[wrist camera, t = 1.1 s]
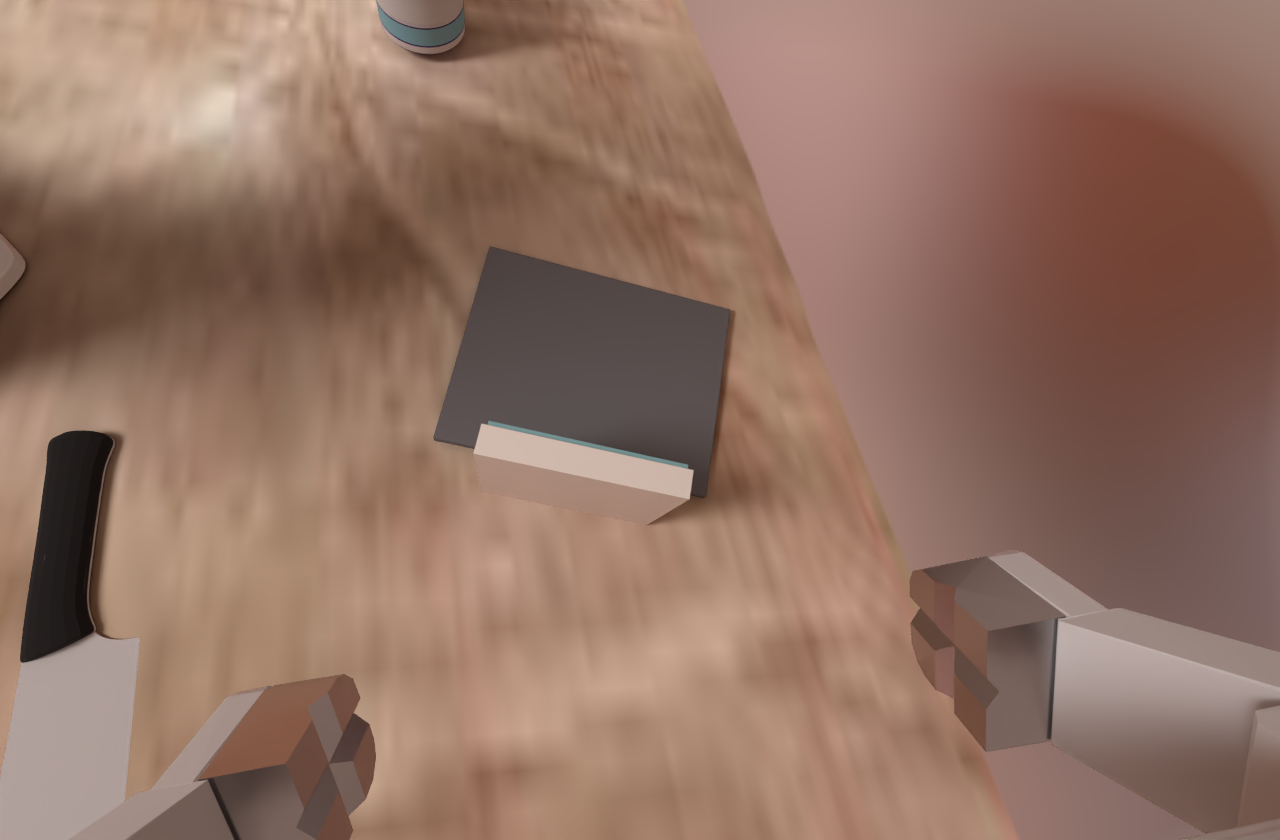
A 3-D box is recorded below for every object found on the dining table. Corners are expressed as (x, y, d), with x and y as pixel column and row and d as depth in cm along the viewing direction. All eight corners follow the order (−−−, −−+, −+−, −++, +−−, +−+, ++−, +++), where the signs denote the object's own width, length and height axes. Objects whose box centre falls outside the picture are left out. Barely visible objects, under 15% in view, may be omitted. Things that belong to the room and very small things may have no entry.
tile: (646, 525, 44) (689, 499, 33) (480, 491, 42) (473, 453, 32) (650, 498, 44) (694, 465, 34) (488, 464, 43) (482, 418, 32)
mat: (703, 497, 45) (706, 496, 45) (434, 440, 42) (433, 437, 42) (727, 313, 50) (730, 309, 50) (490, 250, 47) (489, 246, 47)
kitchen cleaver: (153, 1018, 30) (-117, 1093, 27) (167, 999, 32) (-88, 1068, 28) (215, 428, 39) (17, 428, 36) (223, 435, 41) (34, 436, 37)
